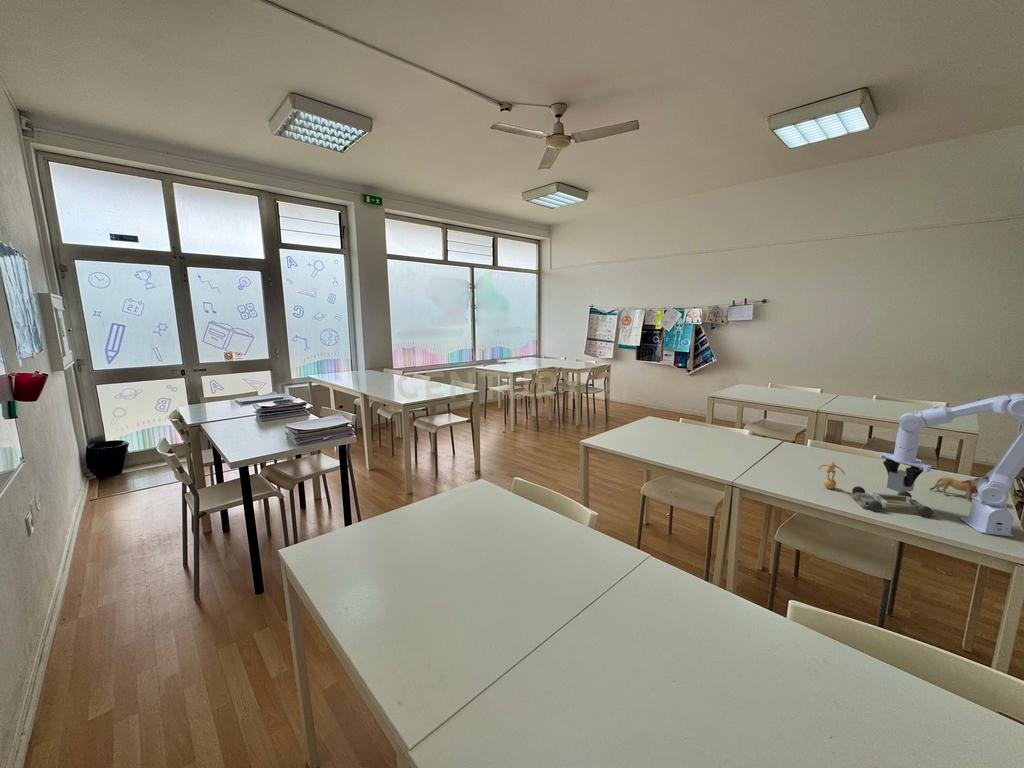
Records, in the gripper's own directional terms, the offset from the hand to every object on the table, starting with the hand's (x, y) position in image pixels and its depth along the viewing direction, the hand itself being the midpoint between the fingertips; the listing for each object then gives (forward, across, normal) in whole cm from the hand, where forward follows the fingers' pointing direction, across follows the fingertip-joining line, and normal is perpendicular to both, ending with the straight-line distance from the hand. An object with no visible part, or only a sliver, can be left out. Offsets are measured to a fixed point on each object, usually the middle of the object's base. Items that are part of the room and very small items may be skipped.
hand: (900, 483), depth 147 cm
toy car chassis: (+9, +1, +2) cm, 9 cm away
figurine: (+9, +18, +8) cm, 22 cm away
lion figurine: (+9, -2, -30) cm, 32 cm away
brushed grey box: (+2, 0, 0) cm, 2 cm away
